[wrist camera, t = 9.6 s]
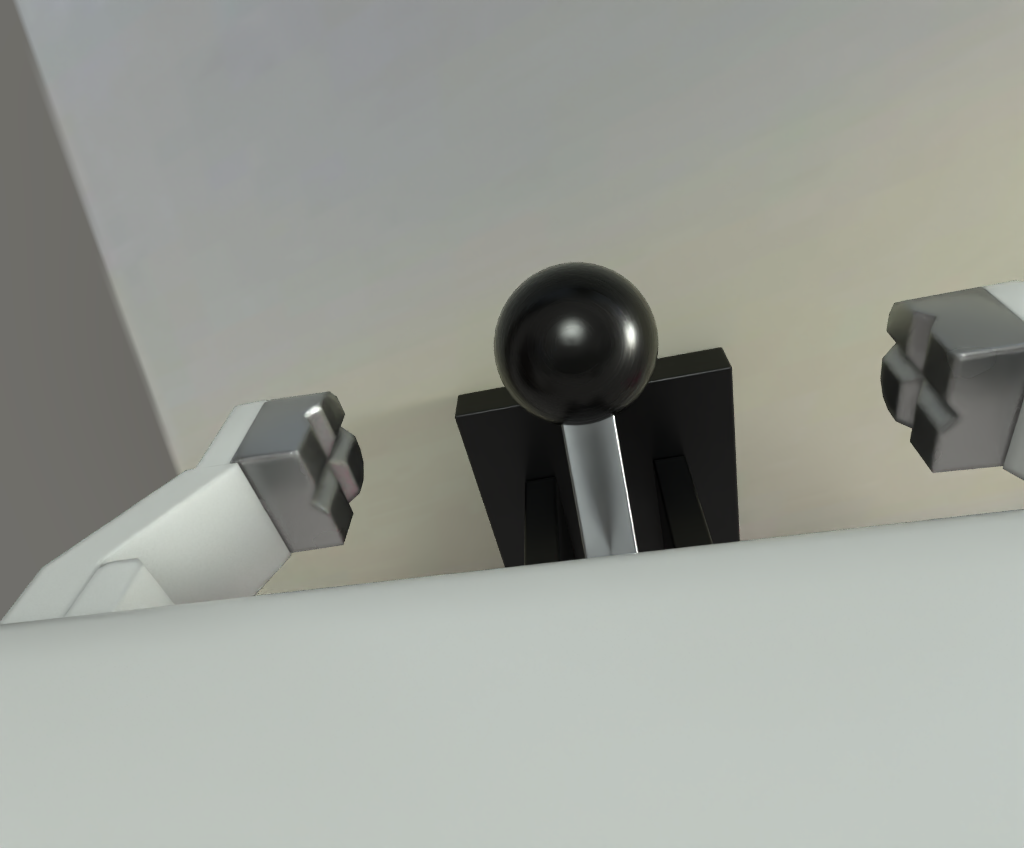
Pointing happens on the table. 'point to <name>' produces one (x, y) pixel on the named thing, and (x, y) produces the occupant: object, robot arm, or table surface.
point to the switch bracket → (645, 454)
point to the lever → (582, 381)
